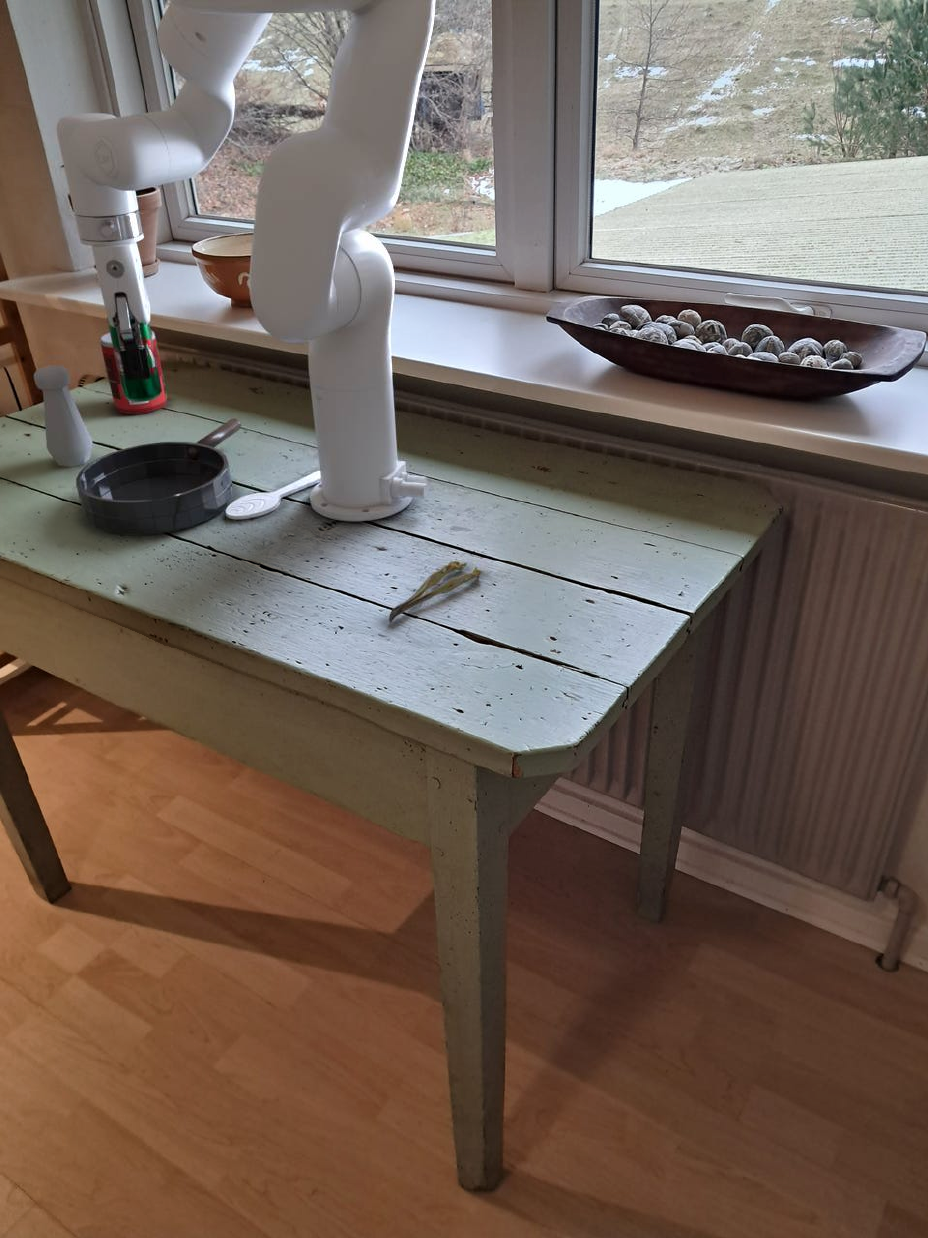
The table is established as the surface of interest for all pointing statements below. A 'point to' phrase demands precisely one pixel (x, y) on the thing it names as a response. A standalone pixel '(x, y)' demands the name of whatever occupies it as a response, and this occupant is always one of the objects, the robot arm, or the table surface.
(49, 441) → the salt shaker
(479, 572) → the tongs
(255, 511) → the spoon
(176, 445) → the pan
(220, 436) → the pan handle
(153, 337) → the canned food
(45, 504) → the table surface
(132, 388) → the soda can
